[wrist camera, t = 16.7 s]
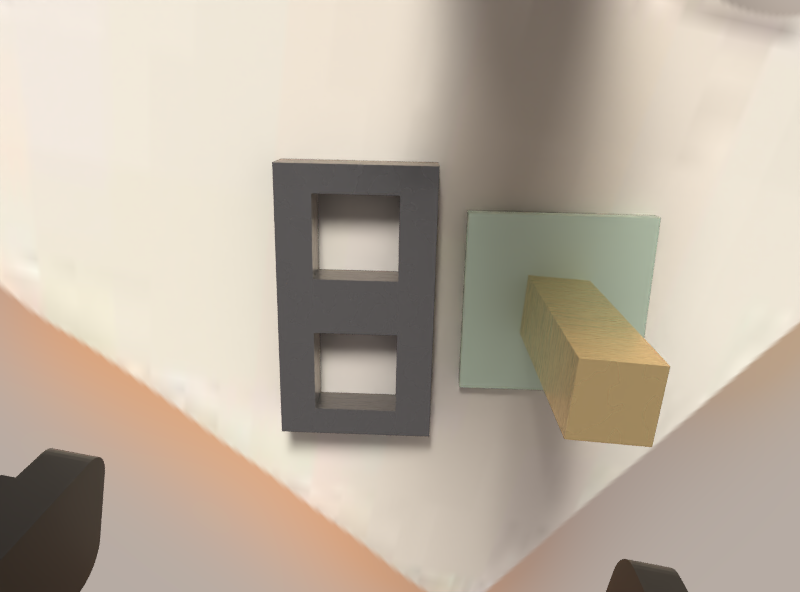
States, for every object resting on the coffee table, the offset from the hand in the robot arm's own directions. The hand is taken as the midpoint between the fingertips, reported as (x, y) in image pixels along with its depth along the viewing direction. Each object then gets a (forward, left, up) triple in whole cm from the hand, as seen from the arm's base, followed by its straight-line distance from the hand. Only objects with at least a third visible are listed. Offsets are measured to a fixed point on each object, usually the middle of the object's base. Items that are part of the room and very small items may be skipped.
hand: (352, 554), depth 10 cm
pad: (+6, +10, -33) cm, 35 cm away
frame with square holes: (+6, -3, -33) cm, 34 cm away
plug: (+6, +10, -32) cm, 34 cm away
